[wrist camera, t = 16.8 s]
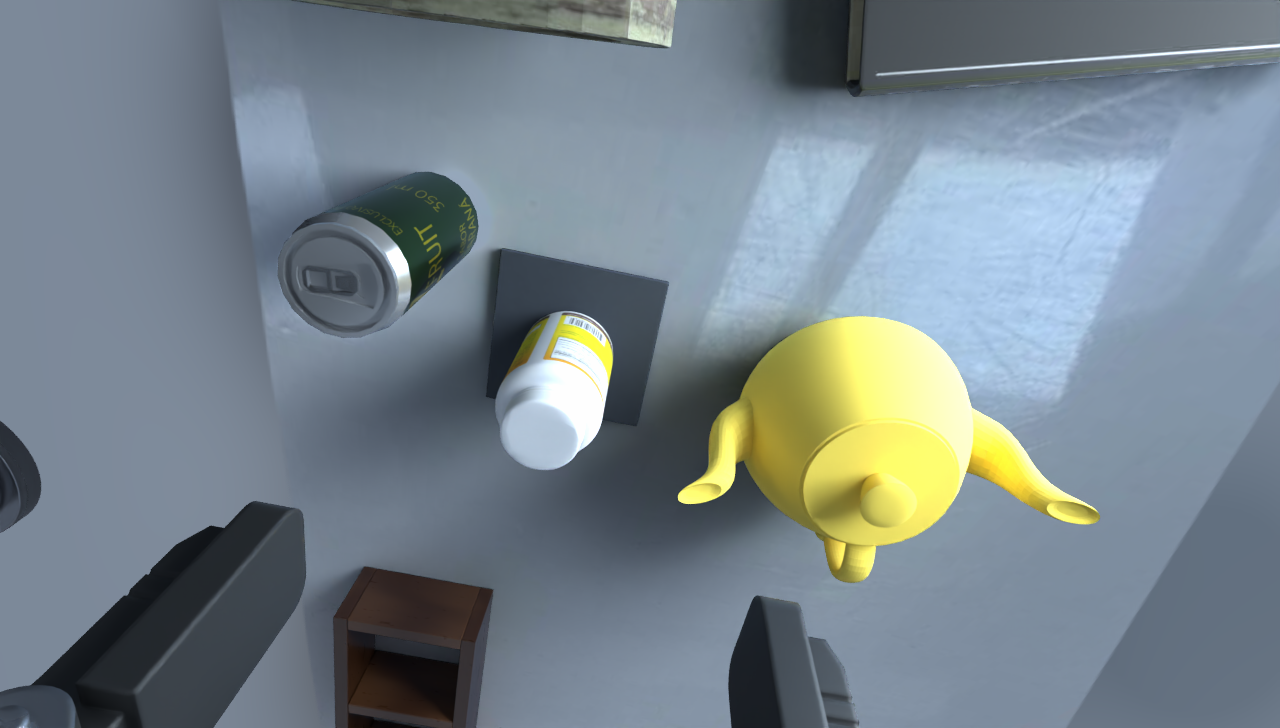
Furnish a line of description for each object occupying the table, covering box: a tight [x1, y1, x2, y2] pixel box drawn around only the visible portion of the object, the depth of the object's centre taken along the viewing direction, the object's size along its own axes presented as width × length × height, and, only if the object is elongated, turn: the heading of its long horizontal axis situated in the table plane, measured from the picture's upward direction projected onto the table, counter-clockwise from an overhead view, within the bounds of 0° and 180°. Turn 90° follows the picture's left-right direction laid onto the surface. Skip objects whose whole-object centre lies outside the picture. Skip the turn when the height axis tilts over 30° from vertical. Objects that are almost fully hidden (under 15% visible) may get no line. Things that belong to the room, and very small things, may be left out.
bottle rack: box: [333, 567, 493, 728], centre depth 51 cm, size 10×19×5 cm, turn 169°
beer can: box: [278, 172, 478, 338], centre depth 32 cm, size 5×5×12 cm
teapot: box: [678, 316, 1100, 583], centre depth 36 cm, size 20×15×12 cm
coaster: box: [486, 248, 669, 426], centre depth 40 cm, size 10×10×1 cm
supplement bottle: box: [495, 311, 613, 470], centre depth 35 cm, size 6×6×10 cm
